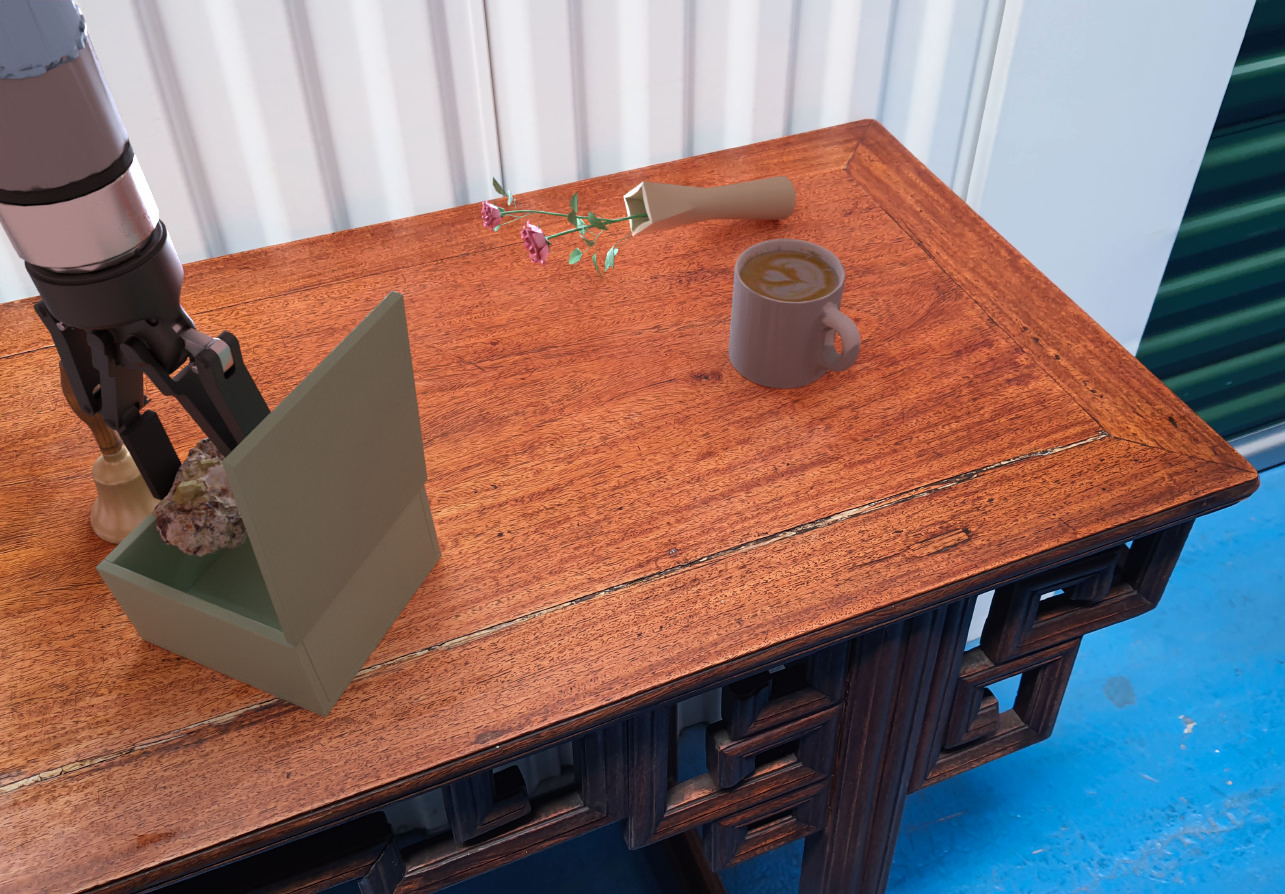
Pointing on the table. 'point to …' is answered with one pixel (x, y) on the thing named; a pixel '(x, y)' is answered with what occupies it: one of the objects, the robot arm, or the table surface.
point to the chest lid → (332, 468)
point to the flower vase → (659, 211)
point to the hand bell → (112, 478)
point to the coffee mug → (789, 314)
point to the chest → (268, 608)
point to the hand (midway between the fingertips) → (219, 504)
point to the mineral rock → (201, 506)
